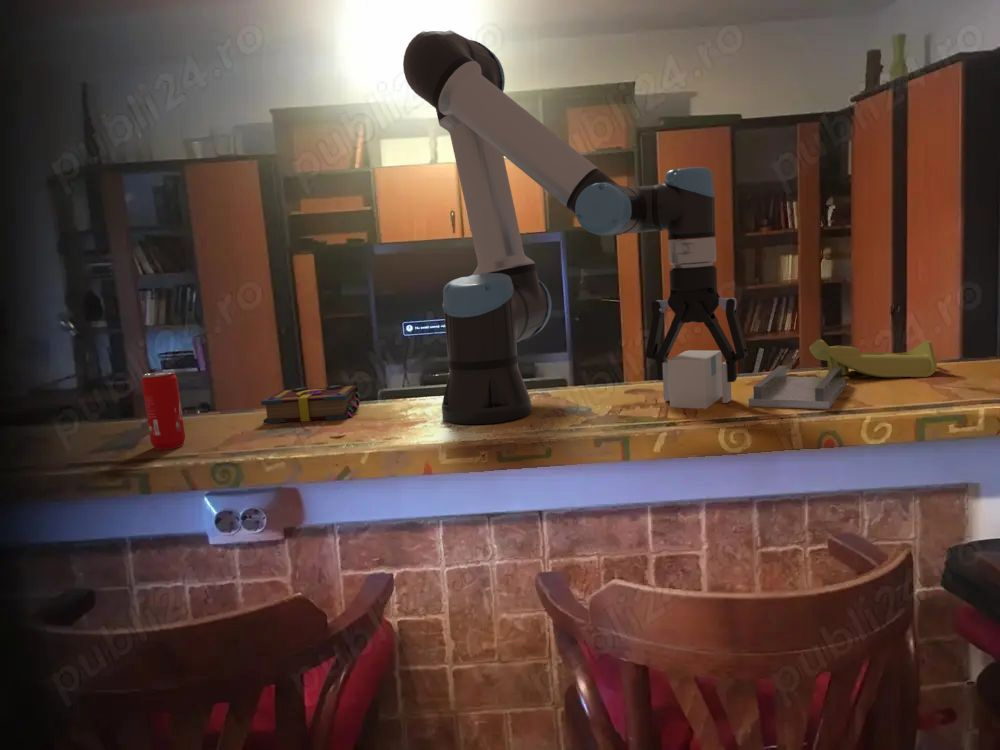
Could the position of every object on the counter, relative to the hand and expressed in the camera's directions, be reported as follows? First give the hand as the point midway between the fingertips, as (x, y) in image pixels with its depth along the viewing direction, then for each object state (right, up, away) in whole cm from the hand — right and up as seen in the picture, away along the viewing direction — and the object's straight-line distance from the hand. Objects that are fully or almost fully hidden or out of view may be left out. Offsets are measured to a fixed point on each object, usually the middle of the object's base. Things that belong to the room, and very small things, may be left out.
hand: (697, 400), depth 132 cm
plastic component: (+35, +4, +13) cm, 38 cm away
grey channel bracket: (+17, +1, -1) cm, 17 cm away
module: (0, 0, 0) cm, 0 cm away
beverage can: (-87, -8, -5) cm, 87 cm away
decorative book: (-67, -4, +13) cm, 68 cm away
